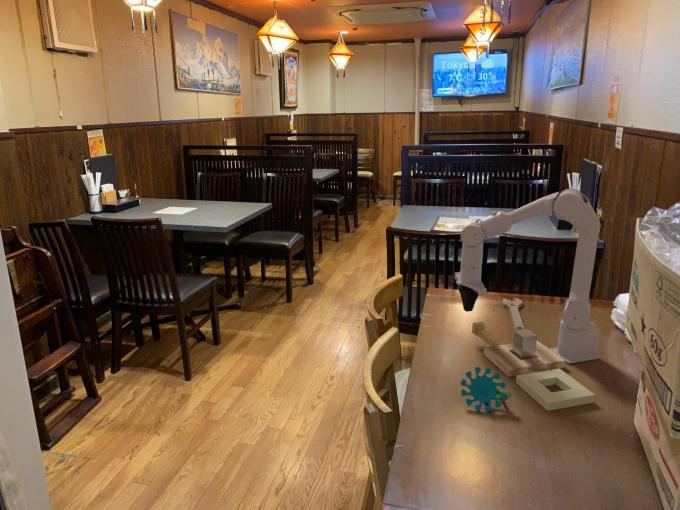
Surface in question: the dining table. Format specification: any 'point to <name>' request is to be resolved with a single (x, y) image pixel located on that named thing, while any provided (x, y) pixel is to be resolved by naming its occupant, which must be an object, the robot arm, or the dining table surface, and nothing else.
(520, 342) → the peg
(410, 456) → the dining table surface
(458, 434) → the dining table surface
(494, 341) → the tan headed bar
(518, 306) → the adjustable wrench
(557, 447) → the dining table surface
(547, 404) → the cream square hole plate
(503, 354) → the socket block
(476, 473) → the dining table surface
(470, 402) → the teal virus model
